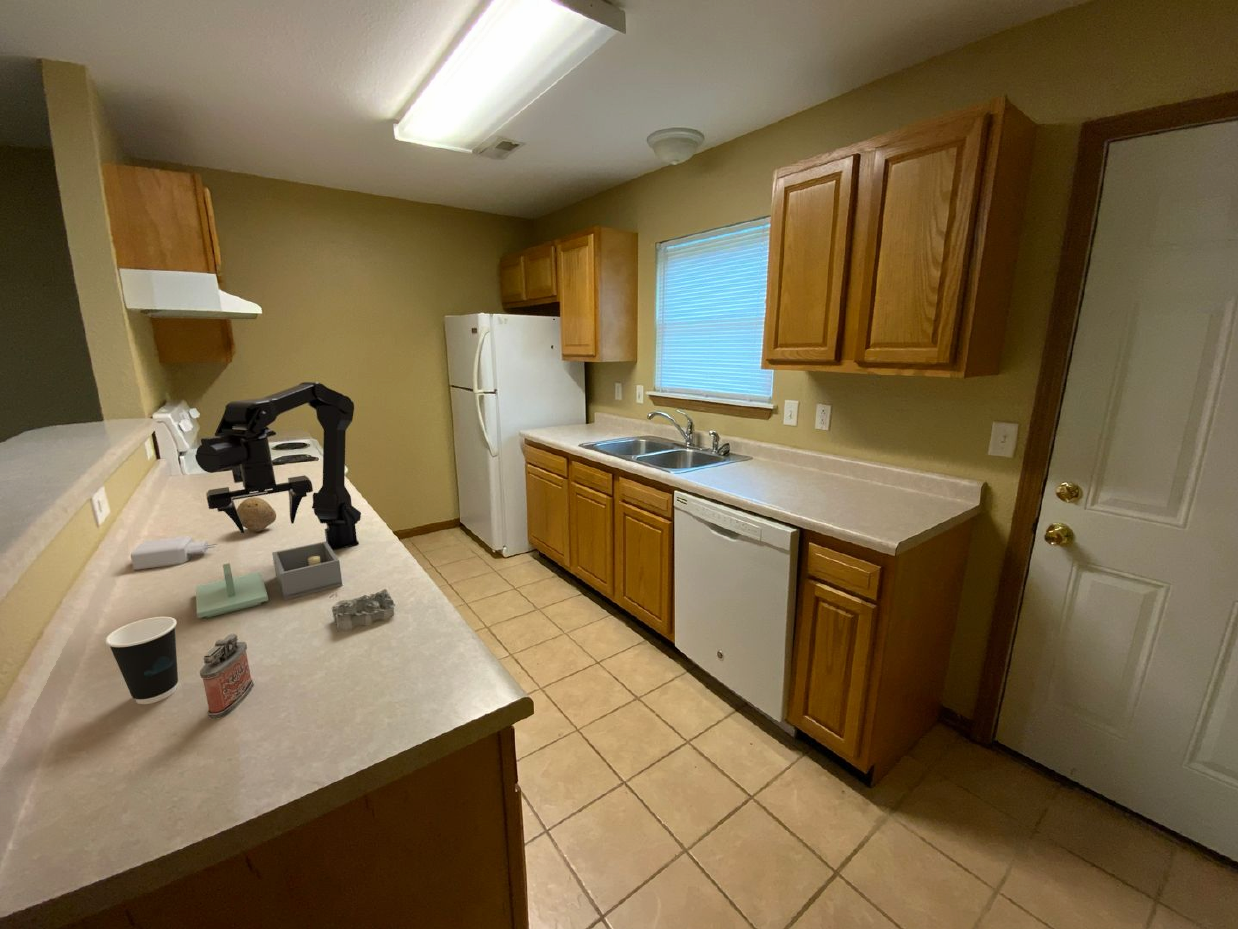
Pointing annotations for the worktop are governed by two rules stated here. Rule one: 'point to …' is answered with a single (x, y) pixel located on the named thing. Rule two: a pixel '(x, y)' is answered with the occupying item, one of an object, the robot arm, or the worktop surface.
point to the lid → (230, 594)
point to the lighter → (226, 676)
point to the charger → (166, 552)
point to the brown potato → (256, 514)
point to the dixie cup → (147, 657)
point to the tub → (306, 569)
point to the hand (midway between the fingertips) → (268, 527)
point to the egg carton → (350, 618)
